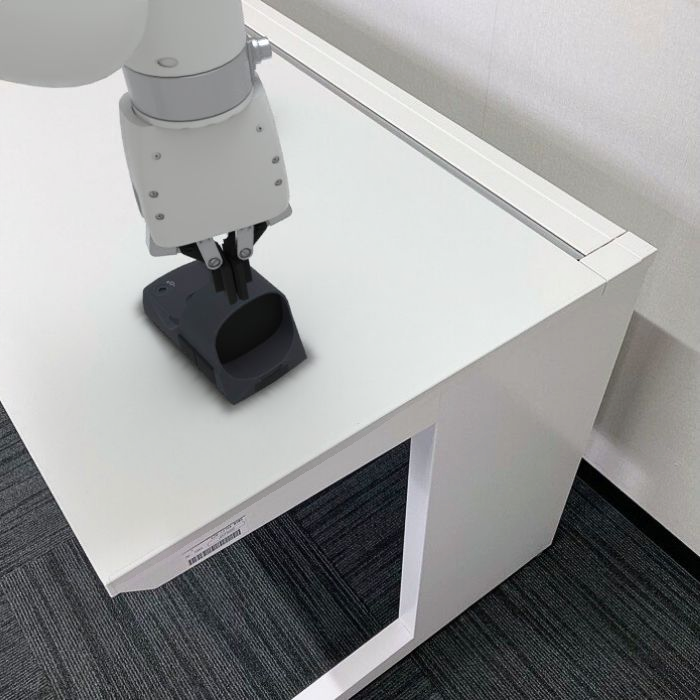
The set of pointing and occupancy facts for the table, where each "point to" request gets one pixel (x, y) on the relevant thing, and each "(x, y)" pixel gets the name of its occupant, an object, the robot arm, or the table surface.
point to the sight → (226, 329)
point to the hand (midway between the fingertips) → (233, 290)
